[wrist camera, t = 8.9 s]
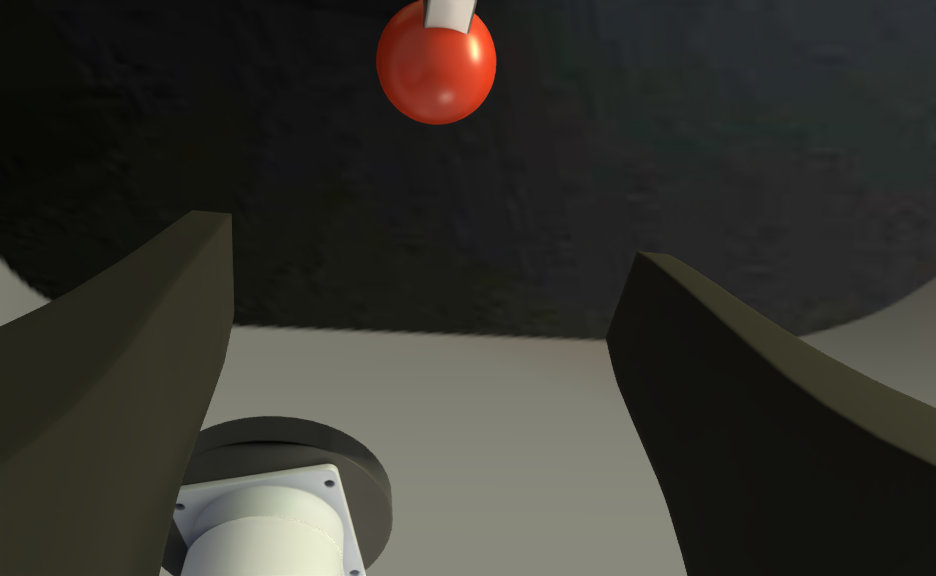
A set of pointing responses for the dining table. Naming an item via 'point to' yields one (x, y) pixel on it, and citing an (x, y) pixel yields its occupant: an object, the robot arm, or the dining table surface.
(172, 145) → the dining table surface
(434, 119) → the switch lever
